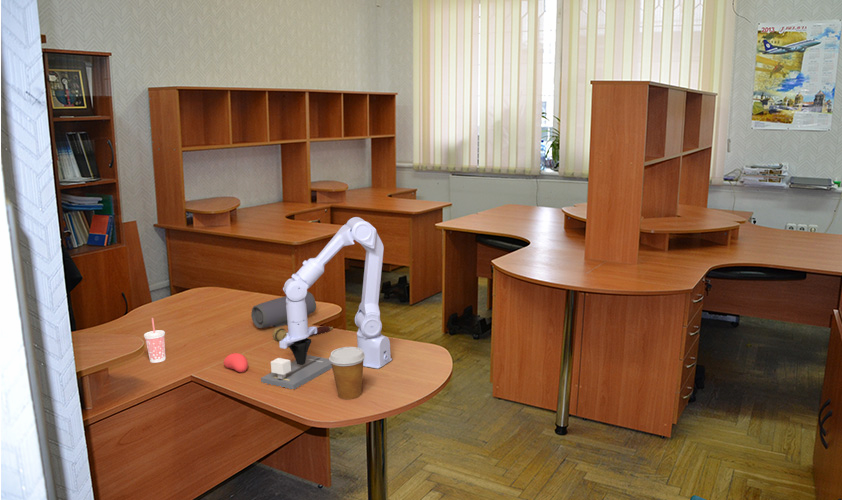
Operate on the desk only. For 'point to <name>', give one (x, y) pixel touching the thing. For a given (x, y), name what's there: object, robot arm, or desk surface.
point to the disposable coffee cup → (348, 371)
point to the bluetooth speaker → (277, 311)
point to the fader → (280, 367)
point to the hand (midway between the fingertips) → (301, 363)
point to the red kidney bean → (236, 362)
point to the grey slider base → (300, 373)
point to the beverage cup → (155, 344)
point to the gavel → (281, 333)
